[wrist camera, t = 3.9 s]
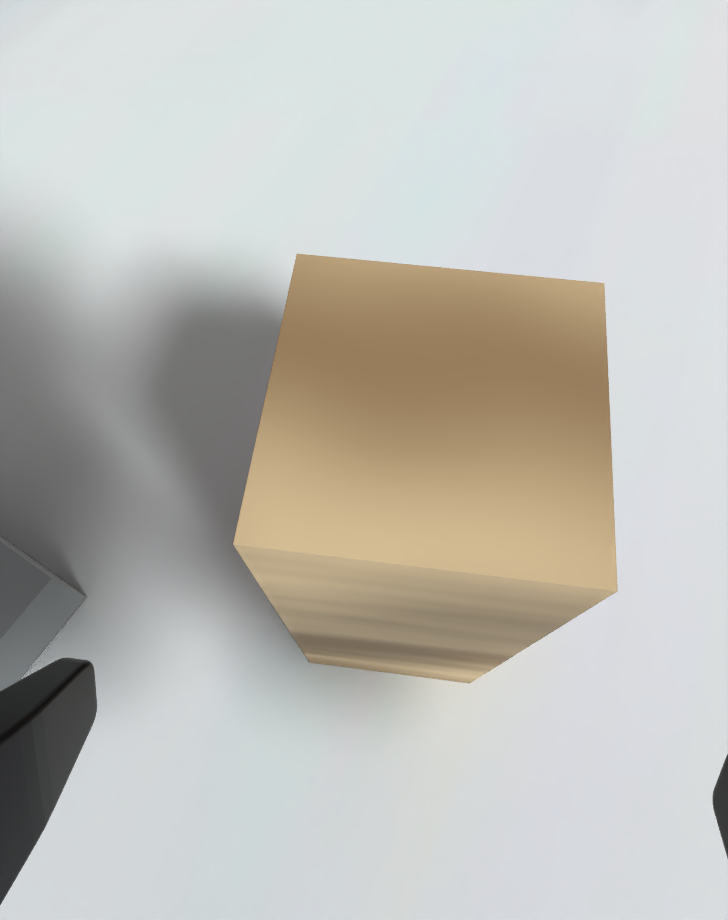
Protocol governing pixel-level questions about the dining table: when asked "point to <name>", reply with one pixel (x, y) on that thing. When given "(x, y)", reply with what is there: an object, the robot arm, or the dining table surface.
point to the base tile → (29, 610)
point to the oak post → (432, 465)
